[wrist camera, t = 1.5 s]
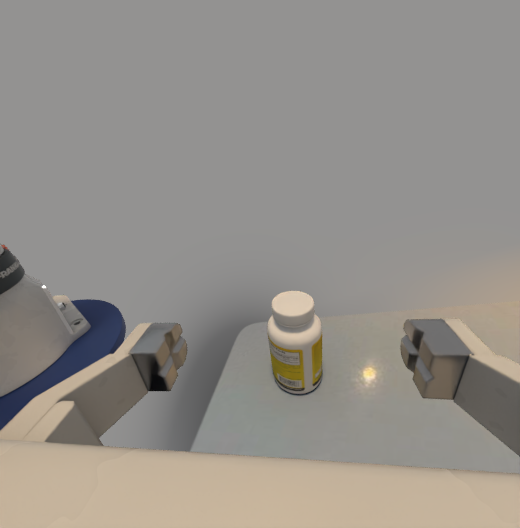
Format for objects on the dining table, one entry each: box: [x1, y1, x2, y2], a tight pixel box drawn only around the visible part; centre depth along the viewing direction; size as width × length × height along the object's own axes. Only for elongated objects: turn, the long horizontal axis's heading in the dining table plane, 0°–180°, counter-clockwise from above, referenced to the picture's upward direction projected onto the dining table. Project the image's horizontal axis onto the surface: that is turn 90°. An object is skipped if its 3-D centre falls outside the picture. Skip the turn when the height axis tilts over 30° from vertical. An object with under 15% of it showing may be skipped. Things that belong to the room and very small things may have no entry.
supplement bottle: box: [267, 291, 322, 394], centre depth 25 cm, size 5×5×10 cm
